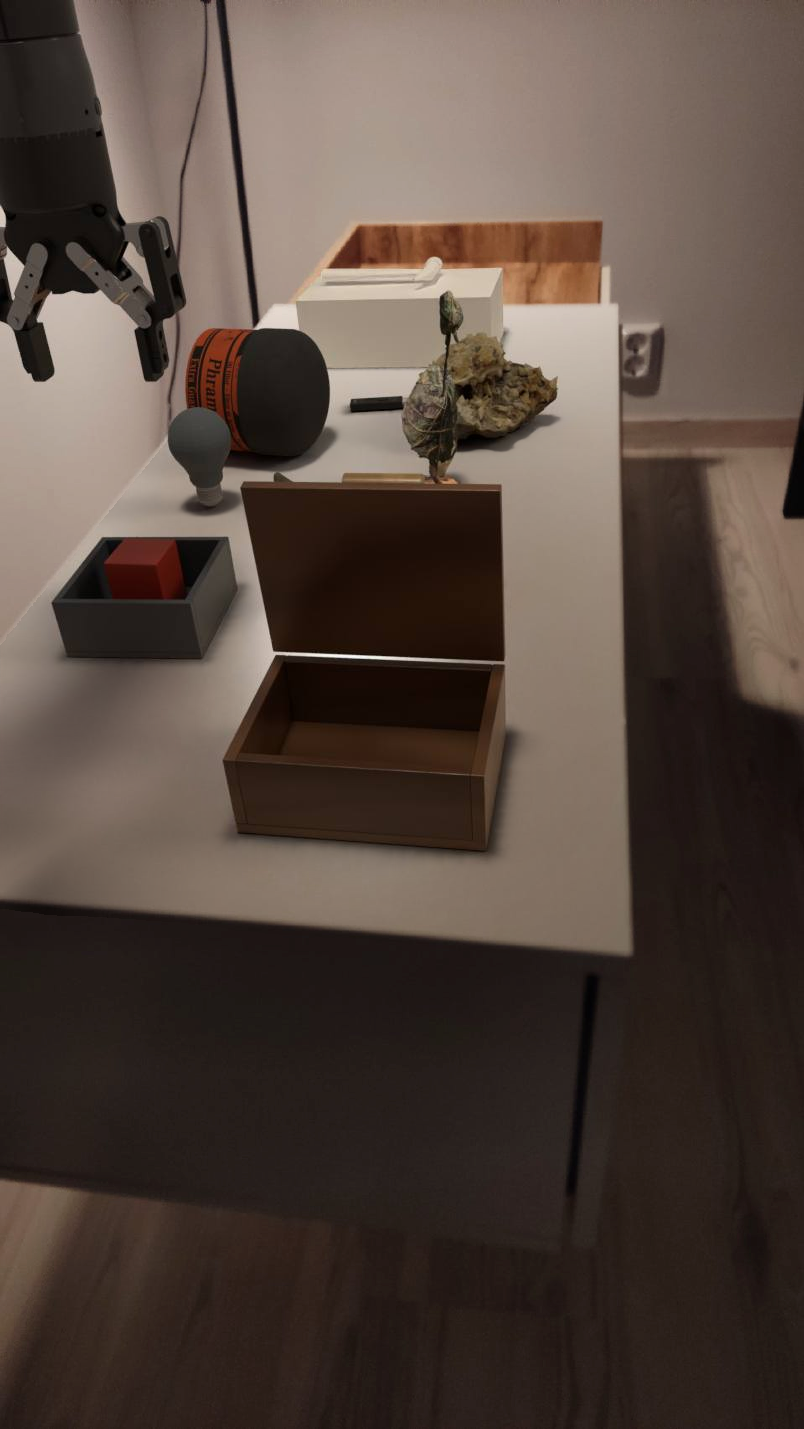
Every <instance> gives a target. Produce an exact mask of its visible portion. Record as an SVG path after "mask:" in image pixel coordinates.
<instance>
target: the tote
mask: <svg viewBox="0 0 804 1429" xmlns="http://www.w3.org/2000/svg"><path fill="white" fill-rule="evenodd" d="M125 538H131V539H174V540H175V541H176V546H177V551H178V555H179V560H180V565H181V570H182V574H183V579H184V584H185V589H186V593H187V597H186V599H185V600H152V599H113V597H112V593H111V589H110V586H109V582H108V578H107V574H106V570H105V566H104V563H105V561H106V560H107V559H108V558H109V557H110V555H111V554H112V553H113V552H114V551H115V550H116V548H117V547H118V546H119V545H120V544H121V543H122V541H123V540H124V539H125ZM235 571H236V570H235V566H234V560H233V555H232V548H231V544H230V538H229V536H102V537H101V538H100V539H99V540H98V542H97V543H96V544H95V546H94V547H93V548H92V549H91V551H90V552H89V553H88V555H87V556H86V557H85V559H83V561H82V562H81V564H79V566H78V567H77V569H76V570H75V571H74V573H72V575H71V576H70V578H69V579H68V580H67V581H66V582H65V584H64V585H63V586H62V588H61V589H60V590H59V592H58V593H57V594H56V595H55V597H54V598H53V599H52V601H51V602H50V604H51V607H52V610H53V613H54V617H55V620H56V624H57V627H58V630H59V634H60V636H61V640H62V644H63V647H64V651H65V654H66V657H68V658H126V659H127V658H135V659H136V658H139V659H199V660H200V659H201V660H202V659H203V657H204V656H205V653H206V651H207V649H208V647H209V646H210V643H211V642H212V640H213V638H214V636H215V634H216V632H217V630H218V628H219V626H220V625H221V622H222V620H223V618H224V616H225V614H226V612H227V610H228V608H229V607H230V604H231V603H232V601H233V598H234V596H235V595H236V592H237V591H238V583H237V578H236V572H235Z"/></svg>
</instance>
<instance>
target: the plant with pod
mask: <svg viewBox="0 0 804 1429" xmlns="http://www.w3.org/2000/svg"><path fill="white" fill-rule="evenodd" d="M439 305H440V310H439V312H440V330H441V333H442V334H443V335H446V336H445V345H446V358H445V364H444V367H440V366H432V367H426V369H425V370H424V371H422V372H423V374H422V375H421V377H418V378H417V380H416V382H415V384H414V386H413V388H412V389H411V392H410V393H409V396H408V397H406V398H407V401H406V403H405V405H403V408H402V412H401V425H402V426H401V427H402V431H403V434H404V436H405V439H406V440H407V442H408V445H410V450H412V451H414V452H415V453H417V456H418V458H420V459H422V458H423V459H427V460H428V463H429V465H428V474H429V476H428V477H425V476H424V478H425V483H432V484H461V481H458V480H457V479H454V478H452V477H451V476H449V475H448V474H447V470H448V469H449V467H450V465H451V463H452V462H453V460H454V456H455V454H456V453H457V450H458V440H459V439H458V428H457V417H458V406H457V405H456V402H457V398H456V395H457V392H456V390H455V383H454V378H453V376H452V375H450V374H449V372H448V369H447V362H448V361H447V360H448V356H449V345H450V341H451V333H452V335H453V336H454V340H455V342H457V343H458V342H459V340H458V337H457V332H456V331H457V330H458V329H459V327H460V326H461V324H462V322H463V312H462V309H461V307H460V305H459V303H458V301H457V300H456V298H455V297H454V296H453V293H452V292H451V291H450V290H449V291H446V292H445V293H443V294H442V295H441V296H440V301H439ZM448 363H451V362H448ZM456 408H457V409H456Z"/></svg>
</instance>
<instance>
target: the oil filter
mask: <svg viewBox="0 0 804 1429" xmlns="http://www.w3.org/2000/svg"><path fill="white" fill-rule="evenodd" d="M186 364H187V365H186V371H185V379H184V380H185V383H184V384H185V387H184V388H185V389H184V391H185V403H186V409H189V408H193V407H202V408H207V409H210V410H212V411H214V412H216V413H217V414H218V415H219V416H220V417H221V418H222V419H223V420H224V421H225V422H226V424H227V426H228V428H229V431H230V435H231V448H230V451H238V452H251V453H257V454H259V455H265V456H266V455H267V456H280V457H296V456H299V455H302V454H304V453H306V452H307V451H309V450H310V449H311V448H312V447H313V446H314V444H316V442H317V441H318V439H319V438H320V436H321V434H322V433H323V430H324V429H325V428H324V427H325V425H326V422H327V420H328V419H327V418H328V415H329V409H330V401H331V385H330V382H331V381H330V377H329V376H330V375H329V371H328V368H327V366H326V363H325V360H324V358H323V355H322V353H321V351H320V349H319V348H318V346H317V345H316V343H315V342H314V341H313V340H312V338H310V337H309V336H308V335H307V334H305V333H303V332H301V331H299V329H295V328H278V327H277V328H276V327H275V328H273V327H261V328H259V329H252V328H251V329H250V328H248V329H247V328H223V327H221V328H219V327H212V328H211V327H210V328H208V329H205V330H204V331H203V332H202V333H200V334H199V335H198V337H197V338H196V340H195V341H194V343H193V345H192V347H191V350H190V353H189V356H188V360H187V363H186Z"/></svg>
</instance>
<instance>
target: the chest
mask: <svg viewBox="0 0 804 1429" xmlns="http://www.w3.org/2000/svg"><path fill="white" fill-rule="evenodd" d="M506 710H507V708H506V664H502V663H493V664H492V663H474V662H455V661H454V662H452V661H429V660H427V661H426V660H407V659H406V660H405V659H403V660H402V659H386V658H385V659H382V658H361V657H360V658H359V657H338V656H337V657H336V656H335V657H334V656H315V655H314V656H312V655H291V654H290V655H289V654H288V655H287V654H275V655H274V657H273V659H272V661H271V663H270V665H269V667H268V669H267V670H266V673H265V675H264V677H263V679H262V680H261V682H260V685H259V686H258V689H257V691H256V693H255V694H254V697H253V698H252V700H251V703H250V704H249V706H248V708H247V709H246V712H245V714H244V716H243V718H242V720H241V722H240V724H239V726H238V728H237V729H236V732H235V733H234V735H233V738H232V740H231V742H230V744H229V746H228V748H227V750H226V752H225V754H224V756H223V758H222V766H223V770H224V774H225V780H226V784H227V789H228V793H229V799H230V803H231V808H232V812H233V817H234V822H235V826H236V831H237V833H242V834H255V835H256V834H257V835H269V836H270V835H271V836H283V837H295V838H308V839H309V838H311V839H322V840H334V841H336V840H337V841H347V842H348V841H349V842H360V843H361V842H362V843H373V844H374V843H377V844H389V845H399V846H401V845H402V846H415V847H428V848H440V849H441V848H442V849H455V850H467V851H481V852H482V851H483V852H485V851H487V849H488V843H489V837H490V830H491V825H492V819H493V813H494V808H495V803H496V802H495V801H496V796H497V795H496V794H497V789H498V784H499V777H500V772H501V765H502V759H503V755H504V754H503V753H504V749H505V743H506V736H507V733H506V732H507V726H506V725H507V720H506V717H507V716H506V713H507V712H506Z"/></svg>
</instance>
